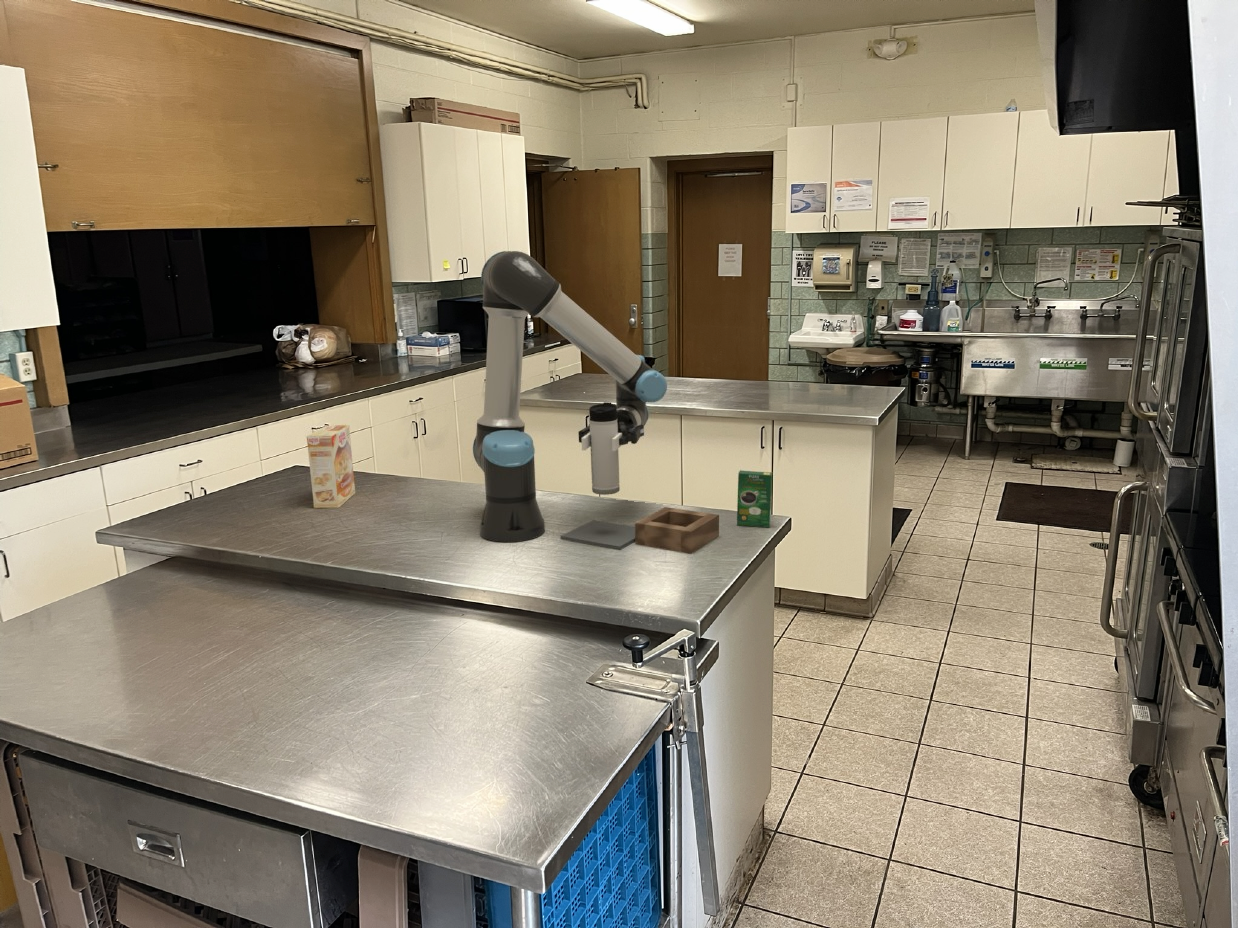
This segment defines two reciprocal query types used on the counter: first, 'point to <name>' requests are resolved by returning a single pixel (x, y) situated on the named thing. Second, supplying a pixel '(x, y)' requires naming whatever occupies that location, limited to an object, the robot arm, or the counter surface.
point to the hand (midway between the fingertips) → (598, 444)
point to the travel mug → (604, 449)
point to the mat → (602, 534)
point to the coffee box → (754, 498)
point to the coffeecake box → (331, 466)
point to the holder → (677, 530)
